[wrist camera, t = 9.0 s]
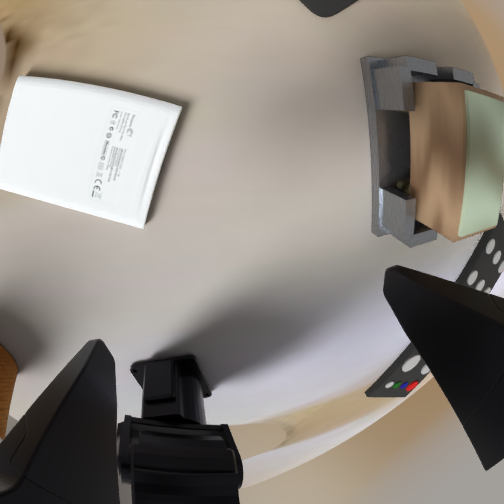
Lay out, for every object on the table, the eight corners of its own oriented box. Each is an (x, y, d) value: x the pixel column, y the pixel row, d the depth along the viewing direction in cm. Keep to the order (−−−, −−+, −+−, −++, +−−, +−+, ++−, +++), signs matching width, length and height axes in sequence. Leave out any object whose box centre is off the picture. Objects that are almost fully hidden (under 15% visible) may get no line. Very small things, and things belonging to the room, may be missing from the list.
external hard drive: (29, 76, 12) (183, 107, 16) (6, 183, 15) (146, 222, 19) (18, 74, 10) (182, 105, 14) (-6, 189, 13) (142, 231, 17)
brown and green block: (454, 205, 20) (498, 228, 15) (408, 215, 19) (456, 244, 14) (456, 91, 15) (506, 98, 11) (406, 82, 14) (463, 82, 10)
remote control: (362, 389, 35) (368, 399, 33) (491, 209, 26) (502, 214, 24) (401, 391, 39) (406, 399, 37) (508, 243, 30) (517, 248, 28)
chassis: (447, 212, 23) (475, 227, 20) (371, 232, 22) (400, 253, 19) (446, 72, 17) (478, 73, 13) (360, 58, 16) (393, 50, 12)
